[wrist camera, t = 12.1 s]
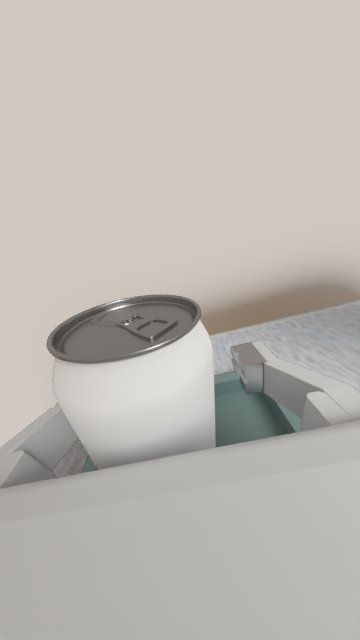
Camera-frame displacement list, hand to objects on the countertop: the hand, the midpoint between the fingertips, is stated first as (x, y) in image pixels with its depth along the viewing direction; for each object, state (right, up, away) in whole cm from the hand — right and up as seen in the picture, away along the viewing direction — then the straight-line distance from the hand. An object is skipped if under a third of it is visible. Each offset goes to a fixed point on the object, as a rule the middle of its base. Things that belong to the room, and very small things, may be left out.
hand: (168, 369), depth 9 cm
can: (0, -8, +3) cm, 9 cm away
